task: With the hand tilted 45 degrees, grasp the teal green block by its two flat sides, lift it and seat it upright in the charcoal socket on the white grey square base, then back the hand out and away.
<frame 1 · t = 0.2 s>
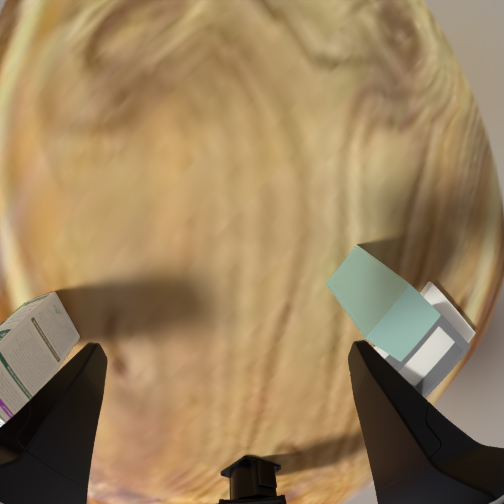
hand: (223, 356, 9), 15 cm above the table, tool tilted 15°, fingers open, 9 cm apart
syrup box: (52, 319, 25), on the table
teal green block: (357, 277, 26), on the table
white grey square base: (419, 351, 29), on the table
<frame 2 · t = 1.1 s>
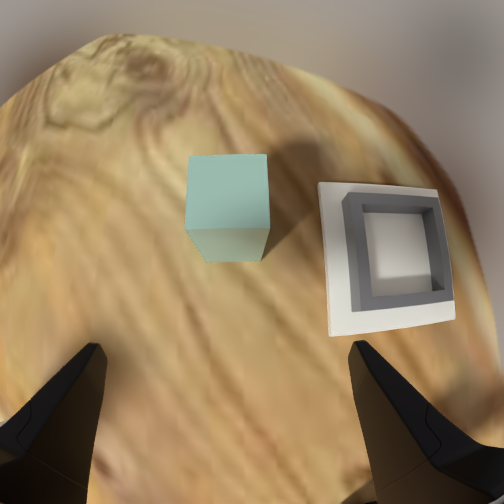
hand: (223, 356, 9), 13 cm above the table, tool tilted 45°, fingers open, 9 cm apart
teal green block: (232, 235, 24), on the table
white grey square base: (391, 255, 24), on the table
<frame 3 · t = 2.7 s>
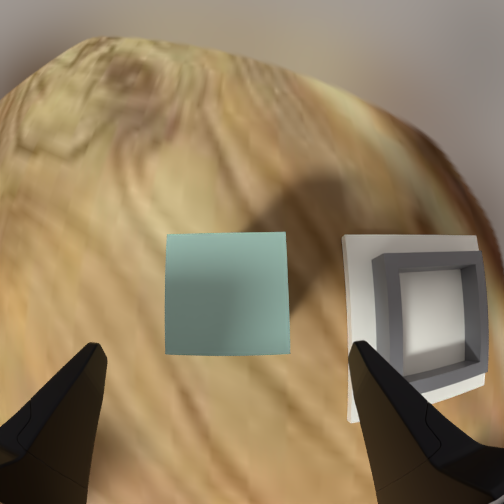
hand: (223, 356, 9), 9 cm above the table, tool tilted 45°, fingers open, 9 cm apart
teal green block: (235, 306, 19), on the table
white grey square base: (424, 321, 19), on the table
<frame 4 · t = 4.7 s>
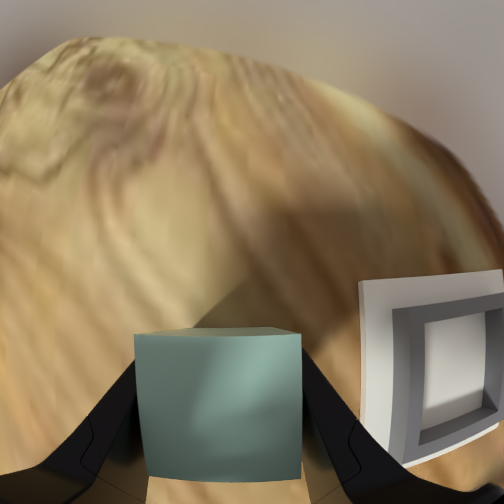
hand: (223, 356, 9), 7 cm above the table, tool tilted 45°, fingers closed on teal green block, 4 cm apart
teal green block: (232, 366, 16), on the table, touching gripper
white grey square base: (444, 370, 15), on the table
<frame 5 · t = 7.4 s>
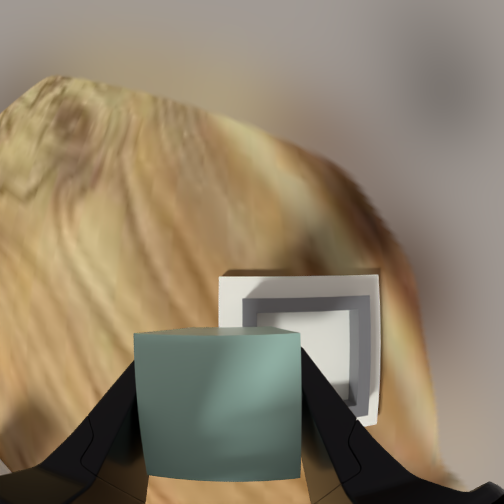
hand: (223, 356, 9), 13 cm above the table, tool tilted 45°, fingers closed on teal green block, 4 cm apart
syrup box: (1, 471, 17), on the table
teal green block: (232, 365, 16), point 7 cm above the table, touching gripper
white grey square base: (302, 358, 22), on the table
when the fingers open (8 cm above the table, at t = 10.1 s): teal green block stays where it is, resting on white grey square base.
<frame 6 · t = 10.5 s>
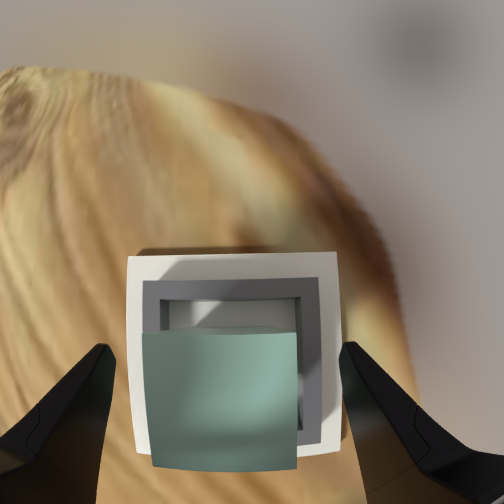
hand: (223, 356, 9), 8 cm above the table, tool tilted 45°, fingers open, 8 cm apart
teal green block: (232, 364, 16), point 1 cm above the table, touching white grey square base
white grey square base: (233, 362, 17), on the table
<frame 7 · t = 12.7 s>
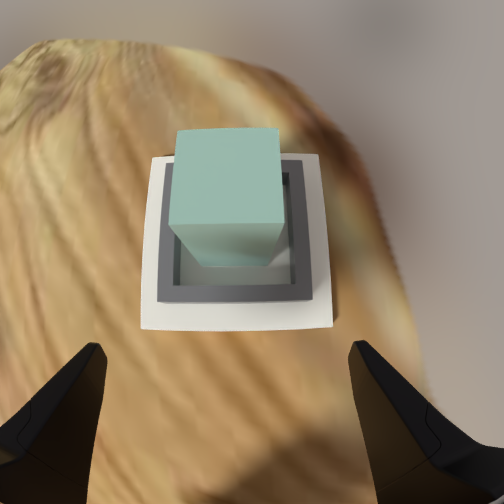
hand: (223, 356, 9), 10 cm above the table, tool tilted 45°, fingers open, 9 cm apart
teal green block: (234, 234, 20), point 1 cm above the table, touching white grey square base
white grey square base: (234, 237, 21), on the table
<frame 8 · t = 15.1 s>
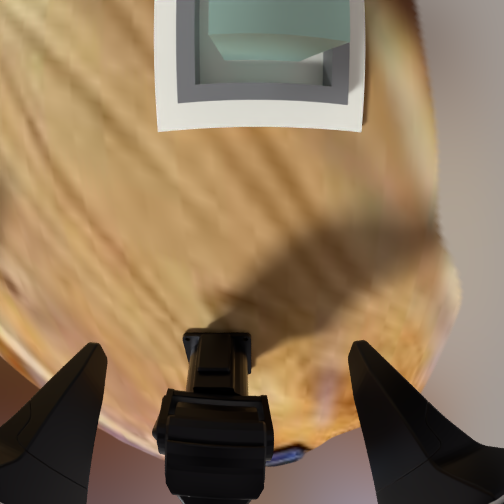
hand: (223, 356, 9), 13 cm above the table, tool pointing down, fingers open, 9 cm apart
teal green block: (261, 27, 14), point 1 cm above the table, touching white grey square base
white grey square base: (261, 30, 14), on the table
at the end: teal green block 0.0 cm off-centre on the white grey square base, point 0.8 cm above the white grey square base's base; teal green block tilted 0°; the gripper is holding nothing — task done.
